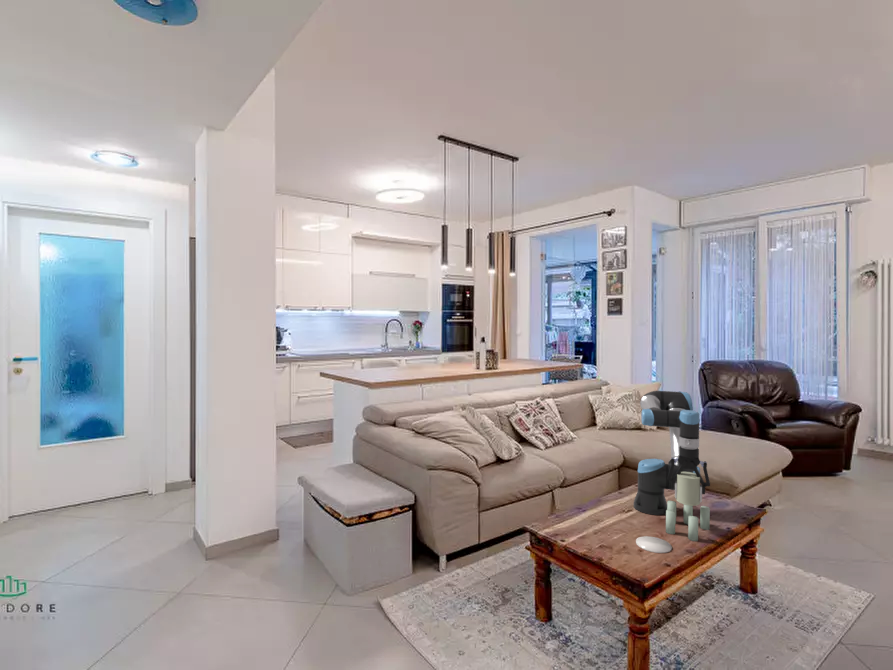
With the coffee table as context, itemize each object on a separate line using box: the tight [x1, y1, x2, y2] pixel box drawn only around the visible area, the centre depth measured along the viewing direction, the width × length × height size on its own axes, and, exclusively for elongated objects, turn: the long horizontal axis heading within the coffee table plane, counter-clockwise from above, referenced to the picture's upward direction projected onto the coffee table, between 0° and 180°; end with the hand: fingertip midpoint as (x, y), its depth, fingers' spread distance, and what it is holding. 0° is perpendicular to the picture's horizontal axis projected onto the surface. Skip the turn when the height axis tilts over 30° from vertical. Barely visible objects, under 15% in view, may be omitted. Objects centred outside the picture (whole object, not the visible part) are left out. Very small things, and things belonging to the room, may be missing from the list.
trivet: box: [635, 535, 673, 554], centre depth 186 cm, size 13×13×1 cm
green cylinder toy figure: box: [675, 472, 701, 507], centre depth 200 cm, size 9×9×12 cm
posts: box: [665, 500, 711, 542], centre depth 200 cm, size 17×21×9 cm
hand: (688, 499), depth 200 cm, fingers closed on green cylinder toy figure, 9 cm apart
